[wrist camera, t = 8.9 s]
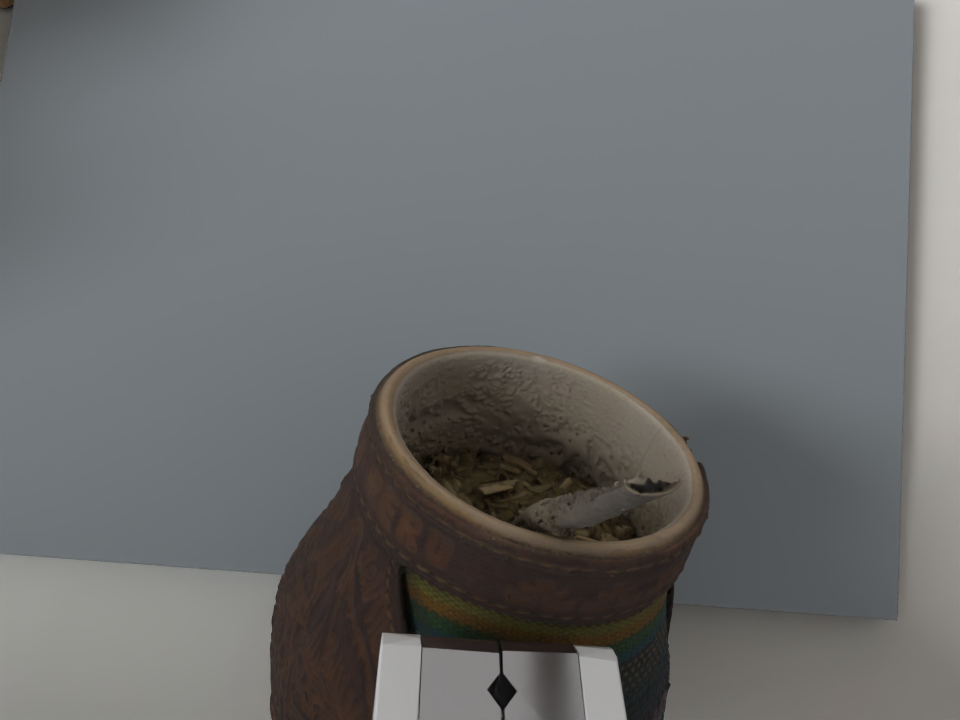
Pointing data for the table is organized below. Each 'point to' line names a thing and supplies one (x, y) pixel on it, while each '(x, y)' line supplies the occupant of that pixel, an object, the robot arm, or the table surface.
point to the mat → (453, 260)
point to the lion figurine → (6, 3)
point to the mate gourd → (491, 529)
